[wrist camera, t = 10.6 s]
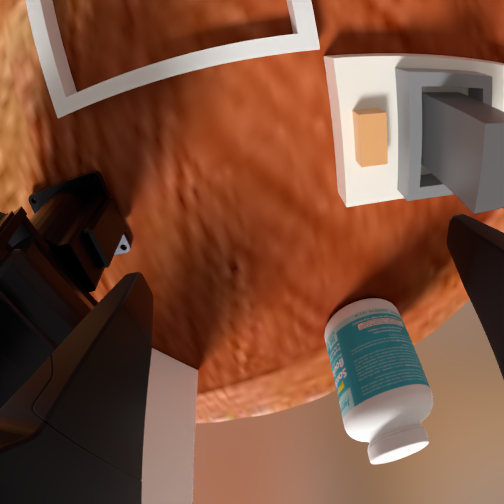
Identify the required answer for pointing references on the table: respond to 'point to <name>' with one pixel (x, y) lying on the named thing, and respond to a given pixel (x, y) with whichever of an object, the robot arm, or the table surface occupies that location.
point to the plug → (464, 148)
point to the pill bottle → (378, 379)
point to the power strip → (395, 118)
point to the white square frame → (71, 100)
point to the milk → (169, 432)
